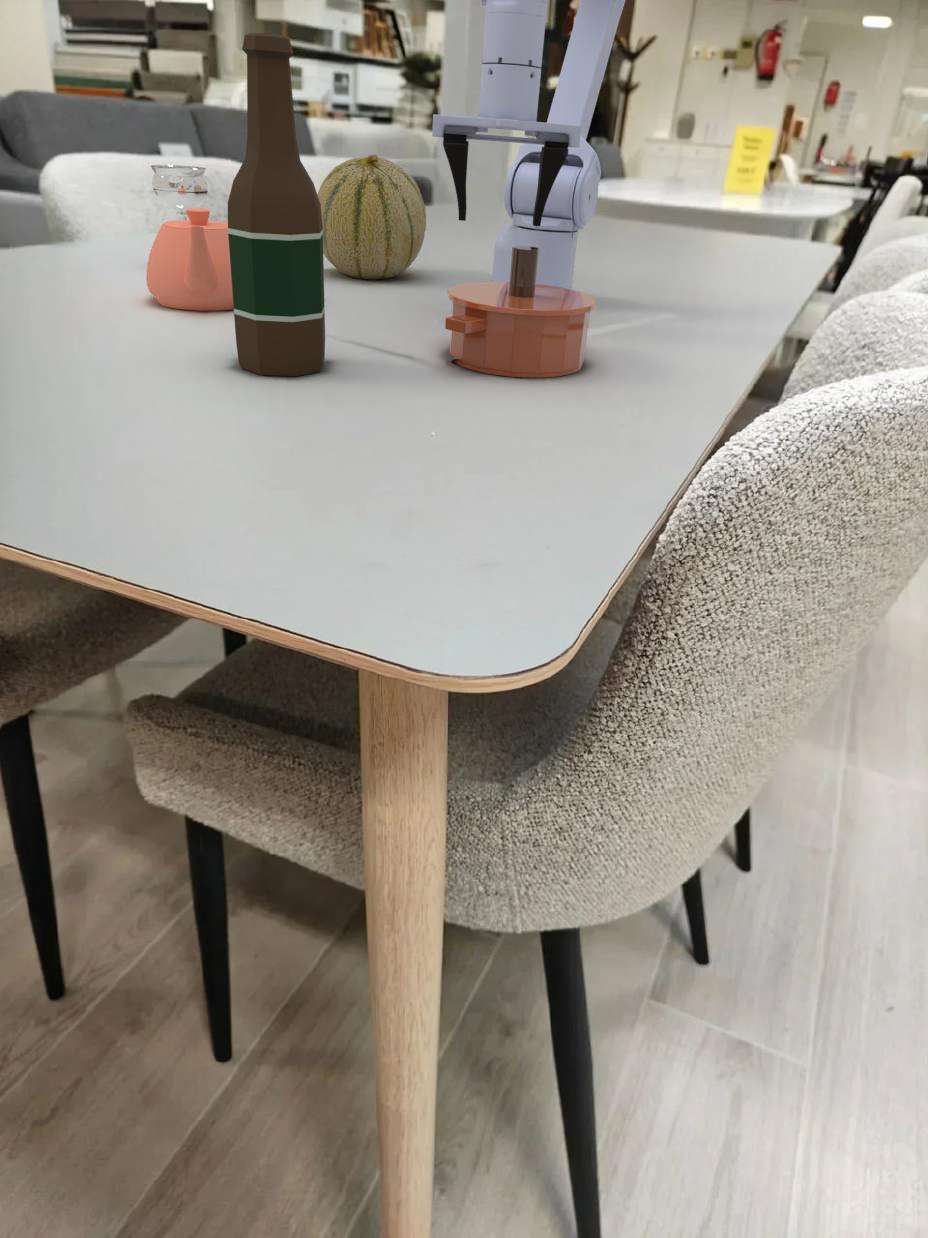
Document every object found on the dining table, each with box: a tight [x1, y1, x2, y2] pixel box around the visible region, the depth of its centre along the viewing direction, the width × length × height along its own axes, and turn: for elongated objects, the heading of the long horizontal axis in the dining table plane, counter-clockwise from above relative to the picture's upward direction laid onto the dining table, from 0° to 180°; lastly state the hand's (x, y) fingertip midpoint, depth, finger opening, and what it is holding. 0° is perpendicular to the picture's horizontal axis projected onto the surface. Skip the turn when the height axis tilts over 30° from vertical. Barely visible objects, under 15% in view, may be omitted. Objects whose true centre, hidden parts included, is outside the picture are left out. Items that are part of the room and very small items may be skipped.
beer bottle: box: [227, 32, 326, 377], centre depth 69 cm, size 8×8×24 cm
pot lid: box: [447, 246, 597, 316], centre depth 78 cm, size 14×14×5 cm
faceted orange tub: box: [444, 301, 591, 379], centre depth 80 cm, size 13×18×5 cm
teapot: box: [146, 207, 234, 312], centre depth 93 cm, size 12×18×10 cm
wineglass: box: [150, 164, 209, 220], centre depth 111 cm, size 7×7×12 cm
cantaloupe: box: [317, 153, 427, 281], centre depth 111 cm, size 15×15×15 cm
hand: (499, 222), depth 89 cm, fingers open, 7 cm apart
